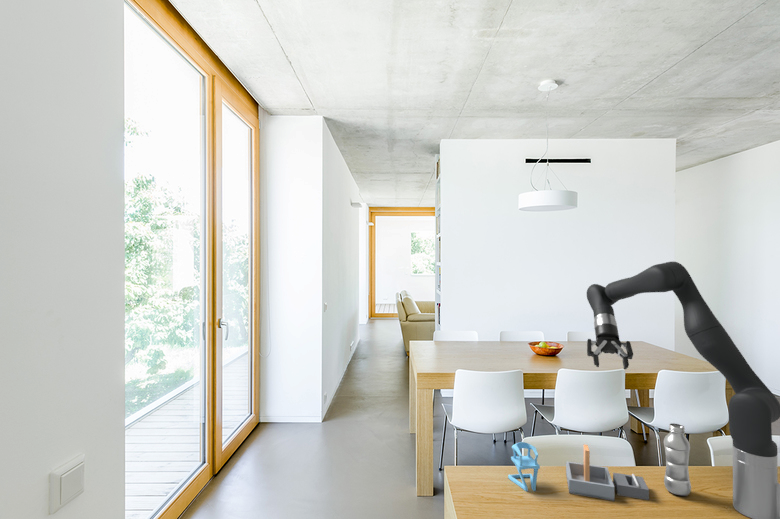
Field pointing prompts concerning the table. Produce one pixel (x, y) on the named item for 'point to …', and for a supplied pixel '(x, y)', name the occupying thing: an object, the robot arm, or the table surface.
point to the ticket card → (586, 463)
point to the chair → (524, 465)
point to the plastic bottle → (677, 461)
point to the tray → (598, 483)
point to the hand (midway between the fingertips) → (611, 367)
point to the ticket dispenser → (630, 486)
